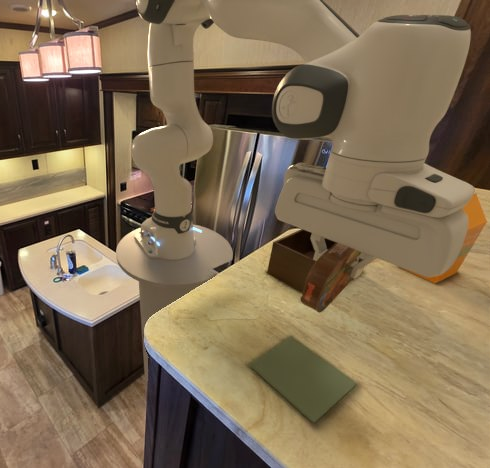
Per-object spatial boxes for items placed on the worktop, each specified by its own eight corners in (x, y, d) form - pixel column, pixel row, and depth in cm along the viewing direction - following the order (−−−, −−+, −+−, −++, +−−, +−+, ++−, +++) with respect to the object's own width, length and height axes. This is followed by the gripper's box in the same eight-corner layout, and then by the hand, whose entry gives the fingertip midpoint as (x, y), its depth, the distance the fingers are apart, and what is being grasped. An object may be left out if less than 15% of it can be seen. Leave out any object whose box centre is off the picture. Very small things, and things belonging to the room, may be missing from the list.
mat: (249, 365, 54) (249, 364, 53) (290, 337, 58) (291, 336, 58) (313, 424, 44) (314, 422, 44) (356, 385, 49) (357, 383, 49)
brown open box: (316, 300, 67) (327, 267, 62) (266, 272, 77) (273, 241, 72) (361, 272, 74) (373, 240, 70) (310, 250, 85) (318, 220, 80)
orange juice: (457, 273, 71) (502, 198, 62) (435, 283, 69) (479, 207, 59) (418, 257, 78) (454, 187, 68) (397, 267, 75) (431, 195, 65)
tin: (312, 323, 40) (334, 276, 35) (289, 309, 42) (307, 264, 38) (354, 277, 47) (377, 234, 43) (333, 268, 50) (353, 226, 45)
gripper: (274, 164, 42) (260, 244, 49) (475, 209, 26) (412, 319, 33) (301, 156, 45) (284, 233, 51) (499, 192, 29) (436, 298, 35)
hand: (335, 267), depth 42 cm, fingers closed on tin, 3 cm apart
